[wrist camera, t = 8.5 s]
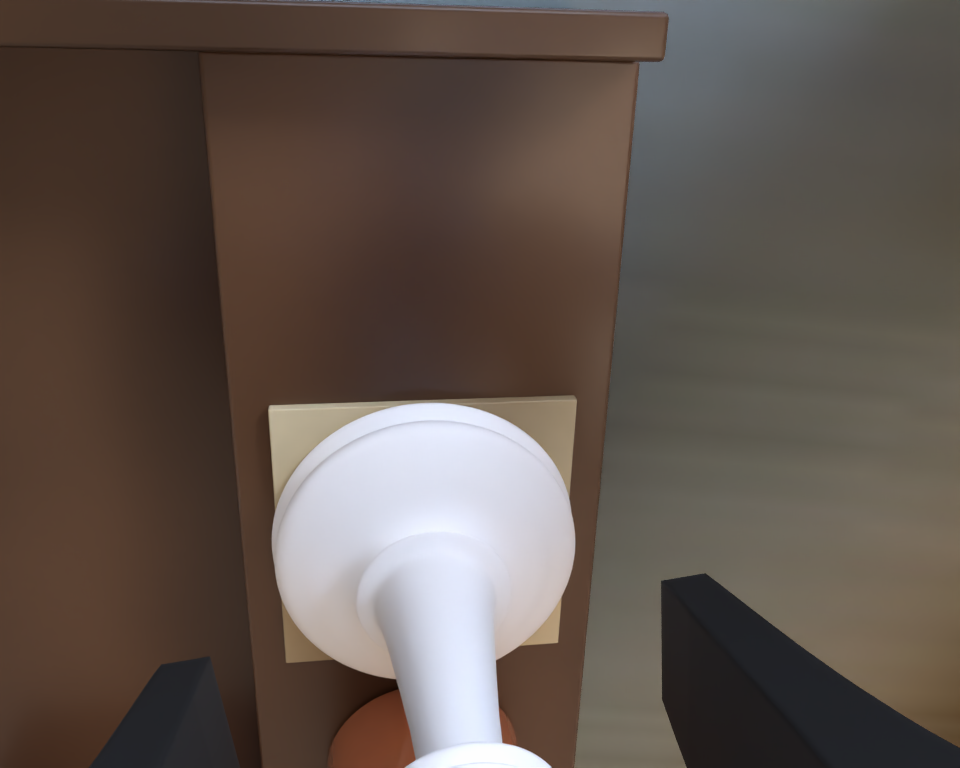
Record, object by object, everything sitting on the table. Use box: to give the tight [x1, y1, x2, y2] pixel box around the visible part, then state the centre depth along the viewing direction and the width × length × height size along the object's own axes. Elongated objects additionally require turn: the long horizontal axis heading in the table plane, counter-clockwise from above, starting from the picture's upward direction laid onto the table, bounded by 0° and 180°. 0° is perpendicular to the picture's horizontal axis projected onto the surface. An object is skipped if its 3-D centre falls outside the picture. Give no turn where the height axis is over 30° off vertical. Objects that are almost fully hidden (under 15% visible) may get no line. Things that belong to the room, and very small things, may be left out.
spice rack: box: [0, 0, 669, 768], centre depth 16 cm, size 12×16×5 cm
